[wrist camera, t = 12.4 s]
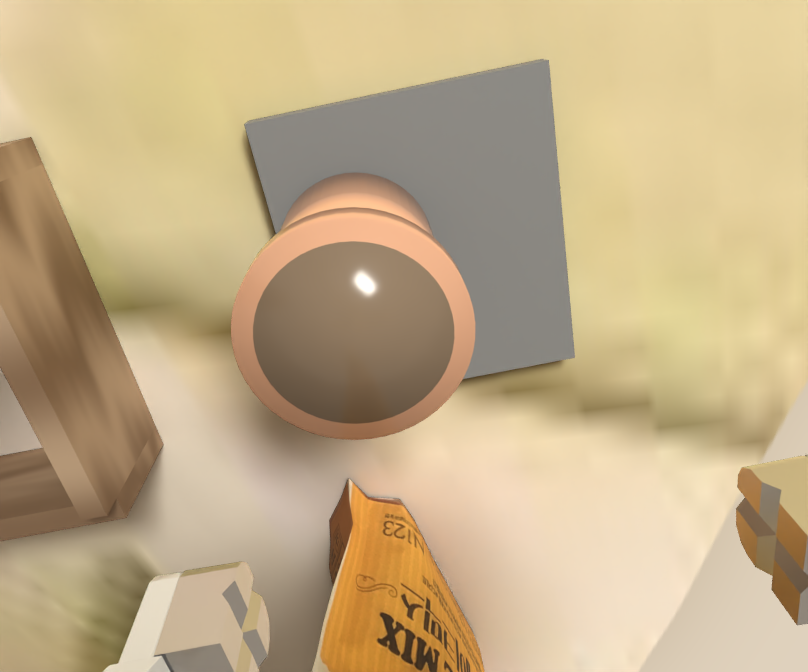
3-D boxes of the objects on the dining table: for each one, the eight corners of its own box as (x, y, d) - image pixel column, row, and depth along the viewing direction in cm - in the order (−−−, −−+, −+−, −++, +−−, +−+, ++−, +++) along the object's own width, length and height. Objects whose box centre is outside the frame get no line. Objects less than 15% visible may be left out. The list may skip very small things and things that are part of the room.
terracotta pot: (244, 187, 24) (192, 256, 17) (421, 140, 24) (447, 190, 16) (300, 346, 27) (277, 462, 20) (459, 306, 27) (495, 410, 19)
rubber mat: (248, 120, 24) (244, 124, 23) (541, 59, 24) (548, 60, 23) (326, 393, 29) (325, 405, 28) (568, 347, 29) (574, 357, 28)
